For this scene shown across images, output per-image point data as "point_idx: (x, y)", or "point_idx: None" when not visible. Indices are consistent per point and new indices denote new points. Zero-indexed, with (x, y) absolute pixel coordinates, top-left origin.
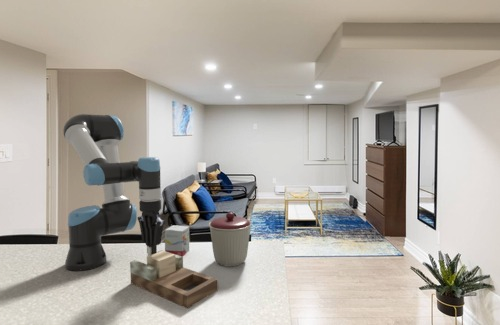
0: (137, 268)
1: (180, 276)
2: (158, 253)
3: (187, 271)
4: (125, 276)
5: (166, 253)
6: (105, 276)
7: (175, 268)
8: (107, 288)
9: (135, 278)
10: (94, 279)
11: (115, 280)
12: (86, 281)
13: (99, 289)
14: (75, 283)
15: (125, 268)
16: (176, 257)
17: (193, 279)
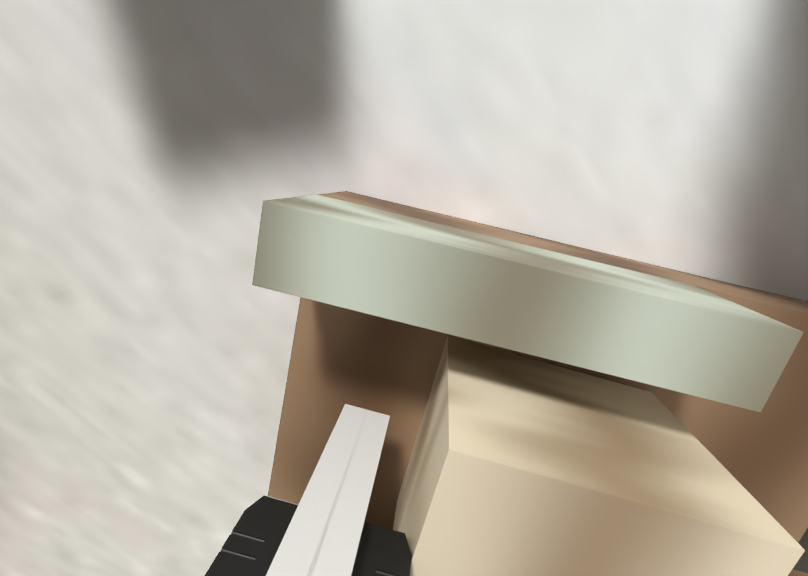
0: None
1: (770, 482)
2: (461, 571)
3: (802, 366)
4: (172, 396)
5: (599, 539)
6: (55, 437)
7: (665, 407)
8: None
9: None
10: (40, 489)
11: (166, 463)
12: (27, 520)
13: (188, 572)
14: (2, 553)
15: (47, 284)
16: (700, 387)
17: None
